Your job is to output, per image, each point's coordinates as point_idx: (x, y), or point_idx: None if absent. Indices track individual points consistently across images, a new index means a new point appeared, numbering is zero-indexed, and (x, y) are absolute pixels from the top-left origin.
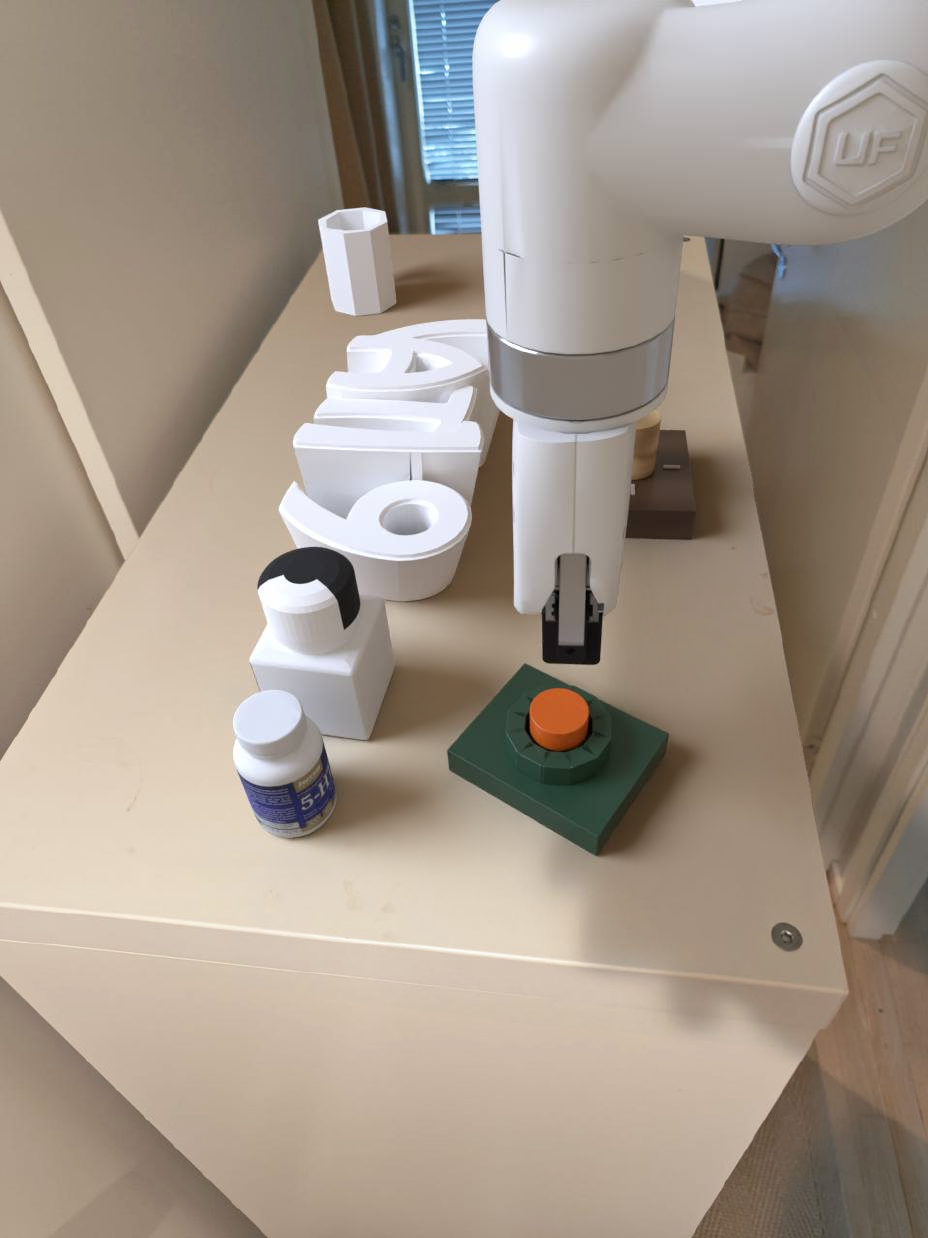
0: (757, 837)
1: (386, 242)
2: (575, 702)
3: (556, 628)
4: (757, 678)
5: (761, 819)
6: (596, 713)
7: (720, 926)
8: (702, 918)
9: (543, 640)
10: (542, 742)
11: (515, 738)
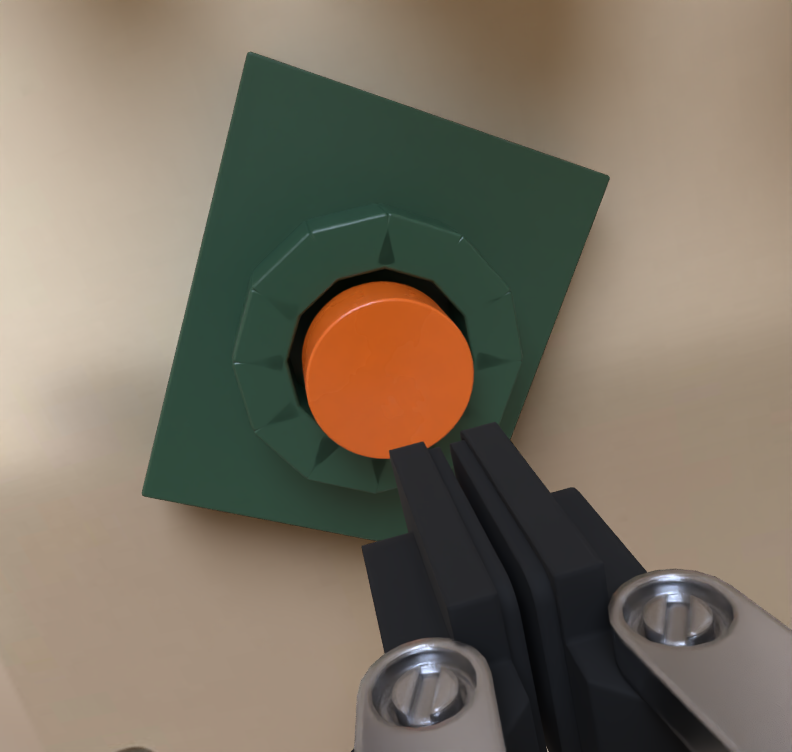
0: (310, 695)
1: None
2: (430, 415)
3: (436, 602)
4: None
5: (350, 693)
6: (444, 439)
7: (106, 682)
8: (108, 655)
9: (410, 506)
10: (306, 342)
11: (296, 266)
